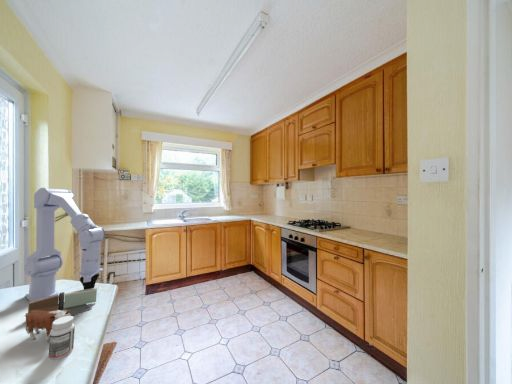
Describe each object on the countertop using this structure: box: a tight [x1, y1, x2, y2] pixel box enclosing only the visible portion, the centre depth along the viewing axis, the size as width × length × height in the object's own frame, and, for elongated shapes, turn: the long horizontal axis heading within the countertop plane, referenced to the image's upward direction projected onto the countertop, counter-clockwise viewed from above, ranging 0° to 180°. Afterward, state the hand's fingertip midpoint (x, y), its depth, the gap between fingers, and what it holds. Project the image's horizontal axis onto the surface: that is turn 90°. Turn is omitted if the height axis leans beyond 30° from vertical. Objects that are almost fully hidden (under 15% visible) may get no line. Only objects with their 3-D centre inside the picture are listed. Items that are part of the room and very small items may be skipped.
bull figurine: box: [25, 310, 71, 342], centre depth 58 cm, size 4×13×8 cm, turn 78°
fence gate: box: [64, 286, 98, 308], centre depth 75 cm, size 9×1×5 cm, turn 124°
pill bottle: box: [48, 316, 76, 360], centre depth 53 cm, size 5×5×8 cm
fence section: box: [27, 291, 66, 314], centre depth 69 cm, size 1×9×6 cm, turn 147°
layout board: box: [25, 304, 92, 317], centre depth 71 cm, size 14×14×1 cm
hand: (88, 294), depth 78 cm, fingers closed
